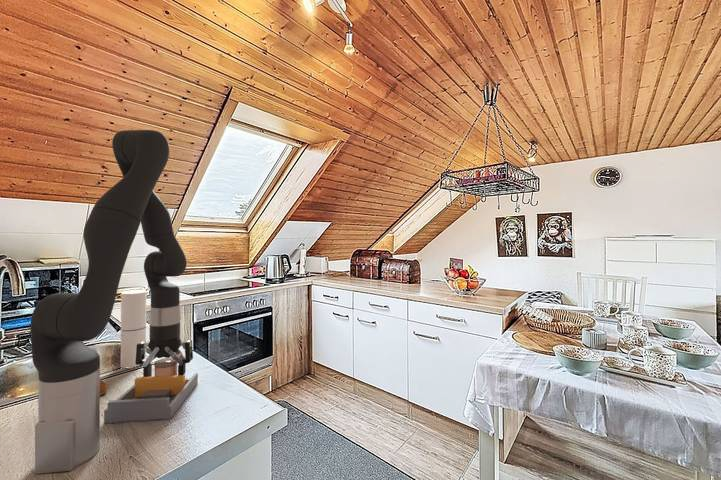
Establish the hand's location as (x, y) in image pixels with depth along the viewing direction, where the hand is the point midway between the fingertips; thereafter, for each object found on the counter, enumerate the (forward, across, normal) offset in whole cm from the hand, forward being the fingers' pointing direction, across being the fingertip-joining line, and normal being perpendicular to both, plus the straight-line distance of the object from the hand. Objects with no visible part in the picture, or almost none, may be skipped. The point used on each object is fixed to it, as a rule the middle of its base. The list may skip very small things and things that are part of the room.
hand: (164, 377), depth 92 cm
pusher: (+4, 0, -4) cm, 6 cm away
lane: (+4, 0, -6) cm, 7 cm away
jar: (+4, 0, +1) cm, 4 cm away
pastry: (+5, -21, +2) cm, 21 cm away
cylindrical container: (+4, -19, +22) cm, 29 cm away
